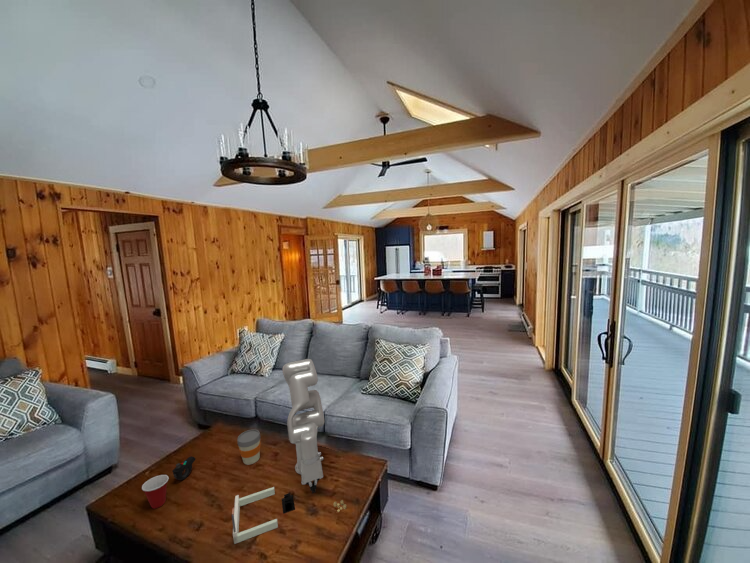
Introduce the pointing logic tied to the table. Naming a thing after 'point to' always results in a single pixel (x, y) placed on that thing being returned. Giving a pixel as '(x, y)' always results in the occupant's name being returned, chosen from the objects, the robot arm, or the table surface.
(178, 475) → the controller
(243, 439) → the reusable coffee cup
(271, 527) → the frame
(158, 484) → the plastic cup
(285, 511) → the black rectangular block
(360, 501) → the table surface
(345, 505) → the dice set
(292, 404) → the robot arm
